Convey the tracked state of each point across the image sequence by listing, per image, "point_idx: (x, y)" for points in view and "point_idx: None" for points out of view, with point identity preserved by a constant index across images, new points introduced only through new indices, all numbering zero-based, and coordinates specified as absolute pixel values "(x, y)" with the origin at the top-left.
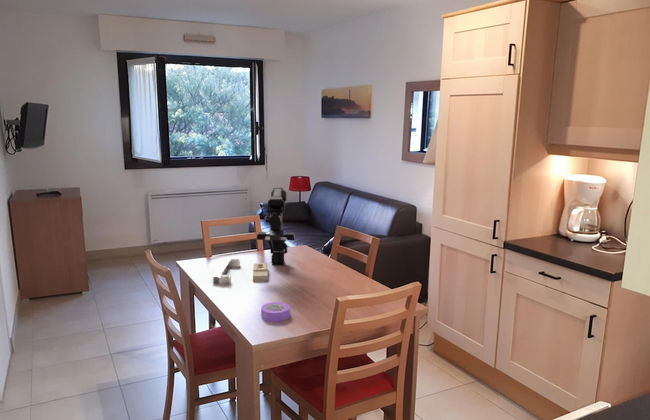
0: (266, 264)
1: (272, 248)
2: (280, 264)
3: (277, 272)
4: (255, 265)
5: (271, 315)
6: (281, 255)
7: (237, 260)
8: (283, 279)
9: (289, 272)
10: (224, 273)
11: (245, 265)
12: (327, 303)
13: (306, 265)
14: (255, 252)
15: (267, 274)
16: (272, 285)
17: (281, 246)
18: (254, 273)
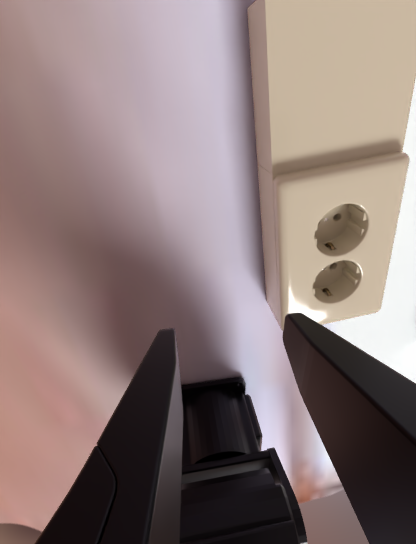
0: (289, 305)
1: (337, 366)
2: (194, 386)
3: (189, 262)
4: (376, 268)
5: None
6: (195, 447)
7: None
8: (94, 79)
9: (98, 275)
10: None
11: (390, 344)
12: None
13: (31, 408)
14: (326, 481)
15: (267, 47)
16: None
17: (88, 461)
18: (402, 75)
